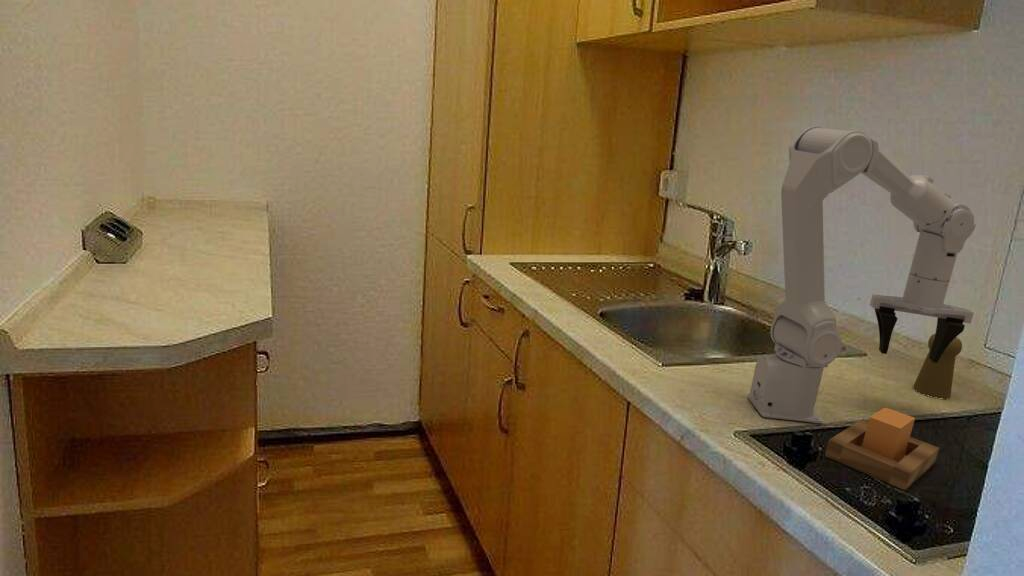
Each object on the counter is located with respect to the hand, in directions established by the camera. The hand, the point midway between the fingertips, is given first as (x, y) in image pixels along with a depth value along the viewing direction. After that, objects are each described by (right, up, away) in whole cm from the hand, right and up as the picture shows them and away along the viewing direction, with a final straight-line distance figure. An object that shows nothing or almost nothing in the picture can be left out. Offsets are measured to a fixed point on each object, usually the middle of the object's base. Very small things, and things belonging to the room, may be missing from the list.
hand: (907, 356), depth 115 cm
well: (-13, -13, -17) cm, 25 cm away
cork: (+11, -8, +12) cm, 18 cm away
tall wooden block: (-13, -12, -17) cm, 25 cm away
